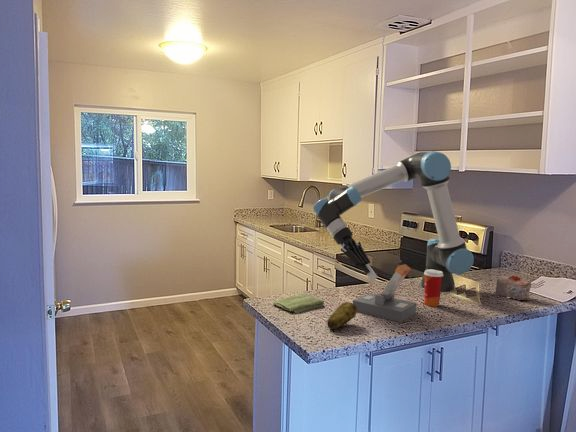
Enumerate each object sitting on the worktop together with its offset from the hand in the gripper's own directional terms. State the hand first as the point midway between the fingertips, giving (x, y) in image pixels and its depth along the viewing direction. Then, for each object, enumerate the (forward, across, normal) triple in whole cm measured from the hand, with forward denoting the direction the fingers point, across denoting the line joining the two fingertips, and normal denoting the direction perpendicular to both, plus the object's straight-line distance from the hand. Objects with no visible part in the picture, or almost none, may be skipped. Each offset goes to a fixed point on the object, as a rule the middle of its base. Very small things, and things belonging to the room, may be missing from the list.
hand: (374, 279), depth 178 cm
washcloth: (-8, +16, -26) cm, 32 cm away
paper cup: (+19, -22, +2) cm, 30 cm away
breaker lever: (+8, 0, -3) cm, 9 cm away
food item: (+36, -57, +19) cm, 70 cm away
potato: (+9, +25, -9) cm, 28 cm away
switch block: (+12, 0, -5) cm, 13 cm away
